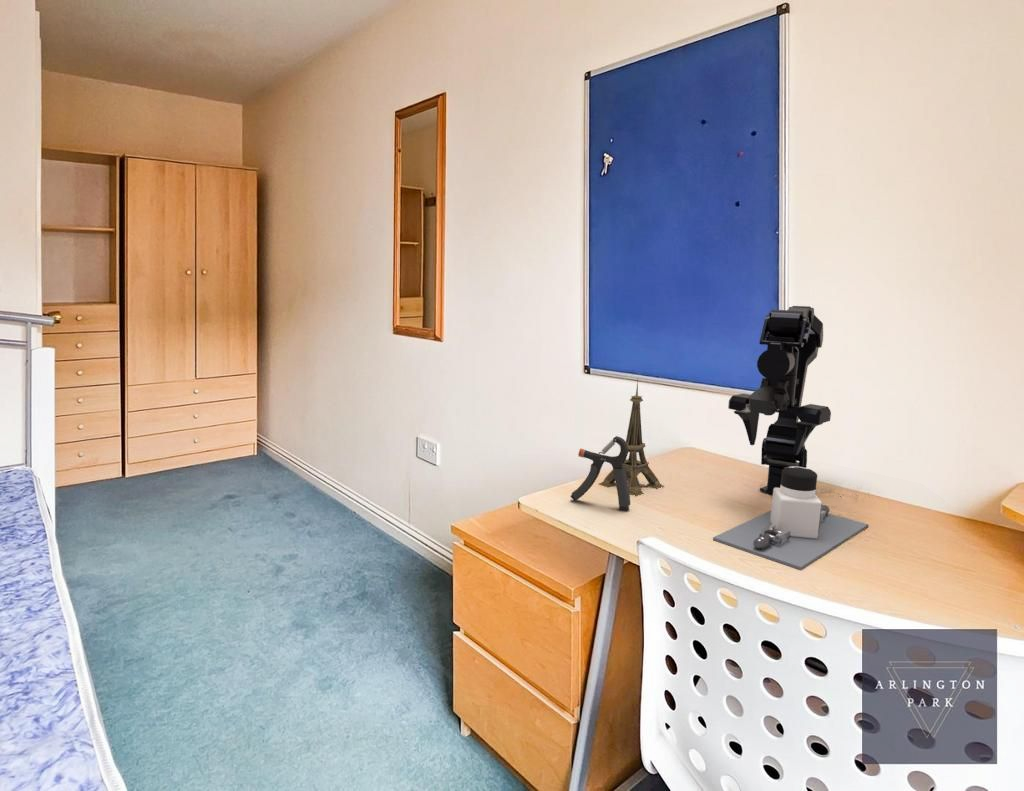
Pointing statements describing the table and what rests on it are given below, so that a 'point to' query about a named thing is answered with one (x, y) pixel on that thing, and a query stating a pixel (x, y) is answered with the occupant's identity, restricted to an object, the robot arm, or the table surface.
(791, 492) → the medicine bottle
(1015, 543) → the table surface
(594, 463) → the hand grip strengthener
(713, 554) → the table surface
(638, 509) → the table surface
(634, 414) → the eiffel tower
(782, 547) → the rubber mat
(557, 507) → the table surface
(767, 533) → the chain ends
